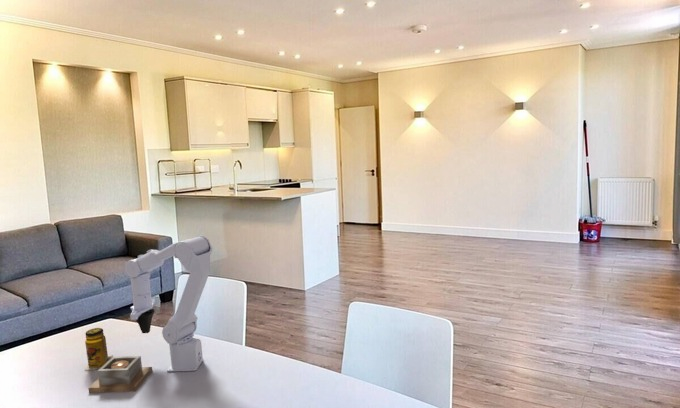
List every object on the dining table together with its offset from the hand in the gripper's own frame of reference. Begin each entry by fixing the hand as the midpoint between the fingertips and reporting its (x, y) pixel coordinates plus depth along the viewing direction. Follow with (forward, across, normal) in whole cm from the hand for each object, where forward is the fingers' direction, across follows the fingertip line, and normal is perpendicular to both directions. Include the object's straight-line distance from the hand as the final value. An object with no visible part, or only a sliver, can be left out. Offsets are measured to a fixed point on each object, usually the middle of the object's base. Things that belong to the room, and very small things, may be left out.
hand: (146, 332), depth 160 cm
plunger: (+8, +15, -2) cm, 17 cm away
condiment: (+10, +2, -16) cm, 19 cm away
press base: (+9, +15, -2) cm, 18 cm away
